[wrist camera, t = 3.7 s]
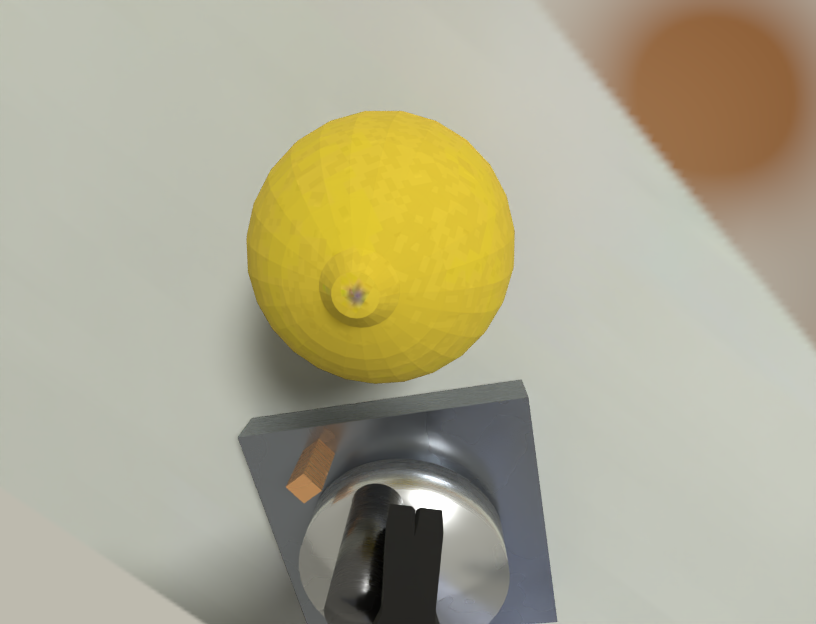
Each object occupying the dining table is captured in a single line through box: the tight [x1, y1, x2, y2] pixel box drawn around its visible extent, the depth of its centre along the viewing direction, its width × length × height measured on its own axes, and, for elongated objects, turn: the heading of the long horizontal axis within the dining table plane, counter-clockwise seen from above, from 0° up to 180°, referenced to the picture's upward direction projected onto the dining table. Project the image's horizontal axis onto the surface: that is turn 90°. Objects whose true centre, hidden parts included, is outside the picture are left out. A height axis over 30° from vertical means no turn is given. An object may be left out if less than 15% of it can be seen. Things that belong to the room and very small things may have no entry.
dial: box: [299, 459, 510, 624], centre depth 13 cm, size 7×7×5 cm
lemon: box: [247, 111, 515, 384], centre depth 10 cm, size 6×6×8 cm
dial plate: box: [238, 380, 557, 624], centre depth 16 cm, size 10×10×3 cm
